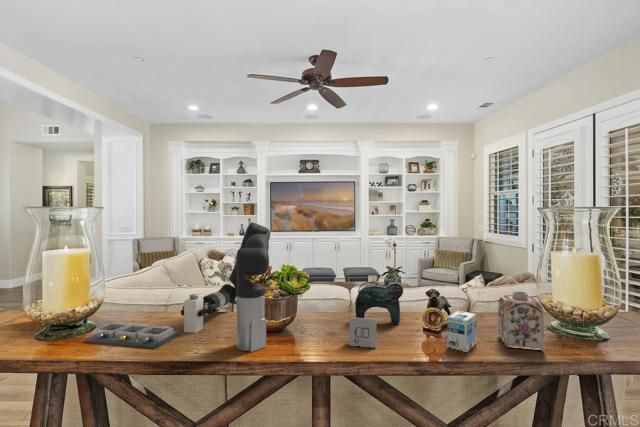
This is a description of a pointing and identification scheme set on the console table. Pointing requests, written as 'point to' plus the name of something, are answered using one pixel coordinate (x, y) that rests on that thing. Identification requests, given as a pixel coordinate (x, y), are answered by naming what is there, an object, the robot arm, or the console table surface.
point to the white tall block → (193, 314)
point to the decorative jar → (521, 320)
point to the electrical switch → (362, 332)
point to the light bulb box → (461, 330)
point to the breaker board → (132, 335)
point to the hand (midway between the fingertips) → (190, 313)
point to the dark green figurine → (380, 298)
